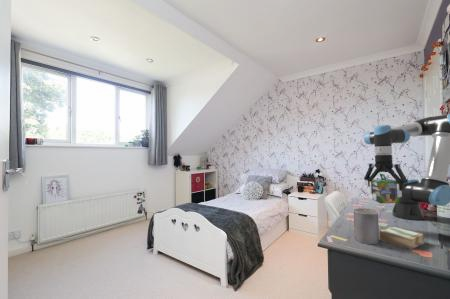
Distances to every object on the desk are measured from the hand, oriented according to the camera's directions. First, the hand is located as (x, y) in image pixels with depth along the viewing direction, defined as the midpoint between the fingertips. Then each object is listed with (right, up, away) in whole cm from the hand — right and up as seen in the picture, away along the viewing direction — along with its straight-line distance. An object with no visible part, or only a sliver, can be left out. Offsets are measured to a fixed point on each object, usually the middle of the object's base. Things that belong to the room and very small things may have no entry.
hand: (385, 195), depth 116 cm
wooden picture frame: (-5, -18, -17) cm, 25 cm away
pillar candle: (-20, -18, -15) cm, 31 cm away
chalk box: (0, -4, 0) cm, 4 cm away
